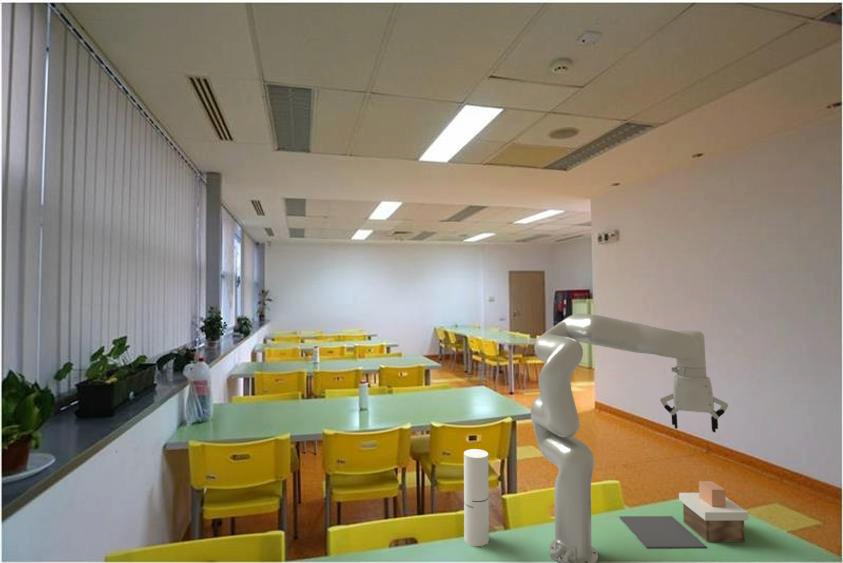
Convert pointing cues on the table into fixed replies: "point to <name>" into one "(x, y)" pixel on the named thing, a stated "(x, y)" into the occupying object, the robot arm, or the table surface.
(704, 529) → the box
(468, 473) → the cylindrical container
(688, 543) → the mat
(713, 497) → the lid
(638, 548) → the table surface
